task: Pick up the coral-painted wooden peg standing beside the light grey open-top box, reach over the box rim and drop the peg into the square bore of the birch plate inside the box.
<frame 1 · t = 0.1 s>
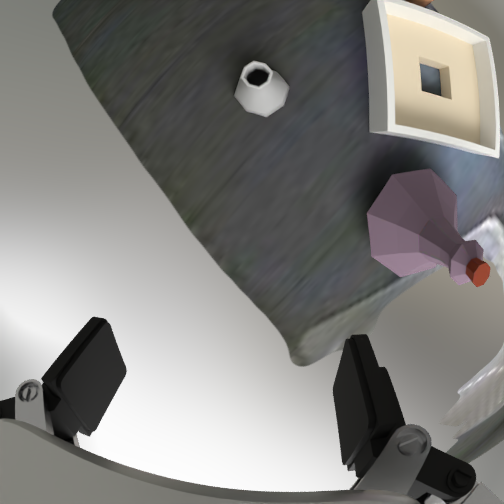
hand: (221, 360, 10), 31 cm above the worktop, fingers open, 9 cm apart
flask 2: (261, 91, 33), on the worktop
flask: (404, 216, 38), on the worktop
box: (426, 80, 29), on the worktop
peg: (413, 0, 23), on the worktop
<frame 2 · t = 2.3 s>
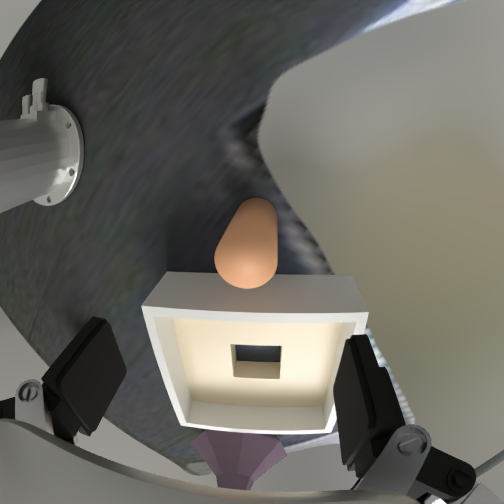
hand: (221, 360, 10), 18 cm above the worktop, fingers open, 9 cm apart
flask: (241, 430, 42), on the worktop
box: (258, 346, 33), on the worktop
peg: (256, 218, 27), on the worktop
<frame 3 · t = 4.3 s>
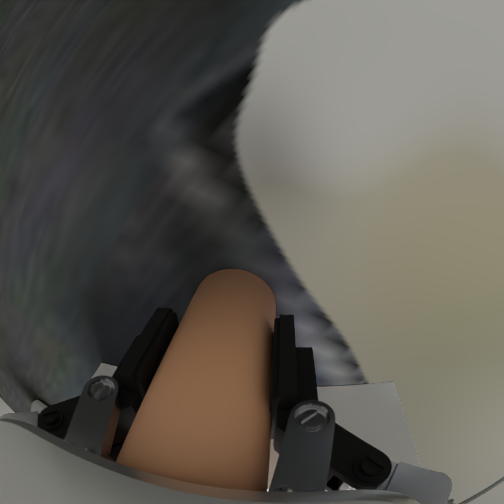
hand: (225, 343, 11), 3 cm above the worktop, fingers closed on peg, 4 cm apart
box: (244, 451, 20), on the worktop
peg: (234, 305, 13), on the worktop, touching gripper
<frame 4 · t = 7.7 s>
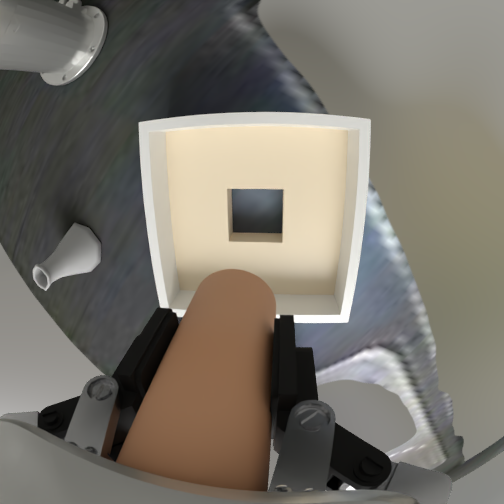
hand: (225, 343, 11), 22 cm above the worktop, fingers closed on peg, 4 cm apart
flask 2: (84, 246, 35), on the worktop
box: (257, 208, 31), on the worktop
peg: (234, 305, 13), point 19 cm above the worktop, touching gripper
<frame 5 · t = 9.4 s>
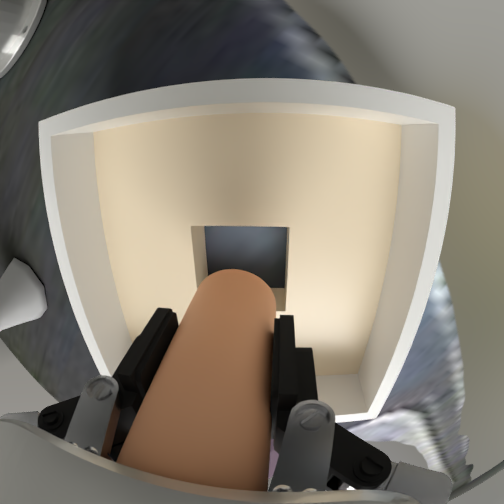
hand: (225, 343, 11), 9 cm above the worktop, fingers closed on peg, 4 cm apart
flask 2: (29, 286, 23), on the worktop
box: (245, 251, 19), on the worktop
peg: (234, 305, 13), point 6 cm above the worktop, touching gripper
when the fingers open (4 cm above the worktop, at t = 10.7 s): peg drops 1 cm, resting in box.
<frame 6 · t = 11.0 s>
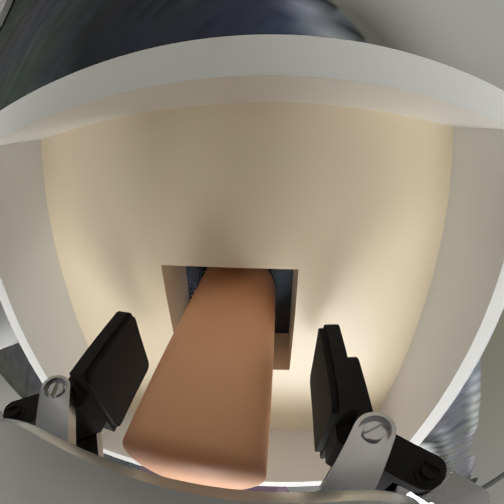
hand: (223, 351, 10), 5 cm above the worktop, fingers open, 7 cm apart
flask 2: (4, 309, 19), on the worktop
box: (238, 290, 15), on the worktop
peg: (238, 290, 15), resting in box
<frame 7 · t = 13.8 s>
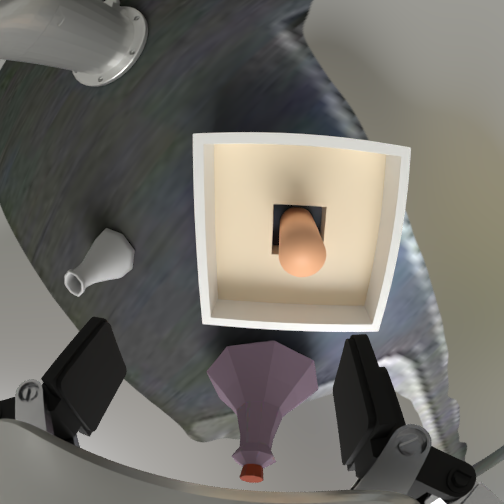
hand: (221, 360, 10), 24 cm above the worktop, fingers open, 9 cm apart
flask 2: (115, 252, 37), on the worktop
flask: (265, 361, 41), on the worktop
box: (297, 223, 32), on the worktop
peg: (296, 223, 32), resting in box
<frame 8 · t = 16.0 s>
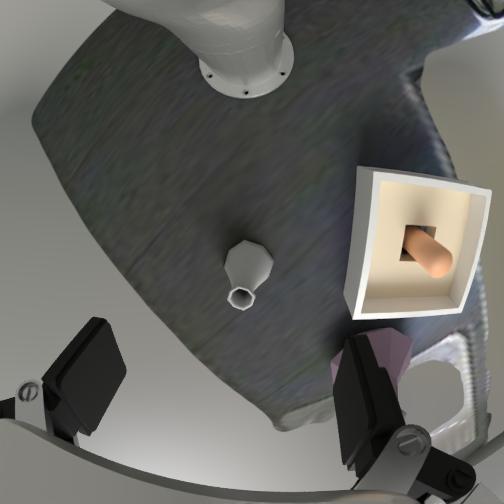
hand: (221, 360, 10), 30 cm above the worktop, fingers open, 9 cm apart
flask 2: (249, 262, 42), on the worktop
flask: (367, 347, 47), on the worktop
box: (410, 237, 38), on the worktop
peg: (410, 236, 38), resting in box
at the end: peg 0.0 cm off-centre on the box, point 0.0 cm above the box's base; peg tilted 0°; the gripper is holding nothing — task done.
